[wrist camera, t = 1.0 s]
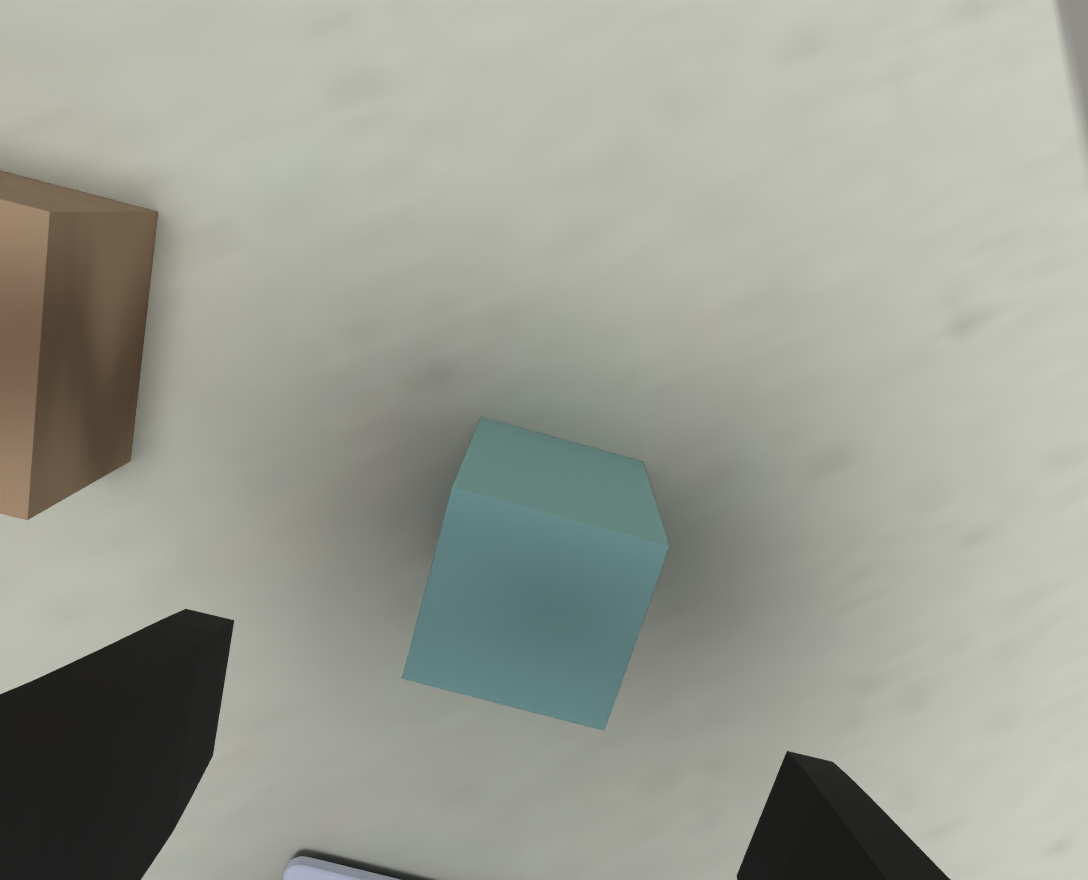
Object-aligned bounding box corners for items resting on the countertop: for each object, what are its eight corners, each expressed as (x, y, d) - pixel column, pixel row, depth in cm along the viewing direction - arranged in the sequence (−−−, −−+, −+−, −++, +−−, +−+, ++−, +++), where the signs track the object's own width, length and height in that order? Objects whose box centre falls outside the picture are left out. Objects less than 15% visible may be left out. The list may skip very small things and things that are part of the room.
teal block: (595, 605, 20) (604, 730, 15) (441, 565, 20) (402, 678, 15) (643, 460, 19) (669, 546, 14) (481, 416, 19) (452, 487, 14)
